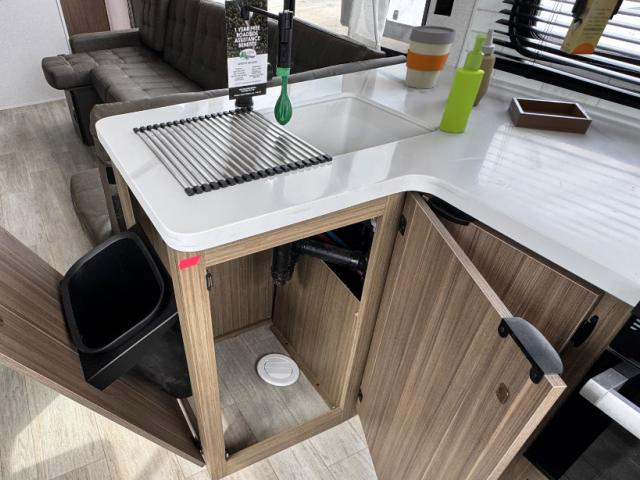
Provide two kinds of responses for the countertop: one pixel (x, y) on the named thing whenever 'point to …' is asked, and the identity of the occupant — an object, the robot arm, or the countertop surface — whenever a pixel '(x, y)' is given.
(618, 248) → the countertop surface
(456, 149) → the countertop surface
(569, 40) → the shoe polish box
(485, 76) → the squeeze bottle
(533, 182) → the countertop surface
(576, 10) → the robot arm
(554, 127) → the tray
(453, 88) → the soap dispenser
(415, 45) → the reusable coffee cup
